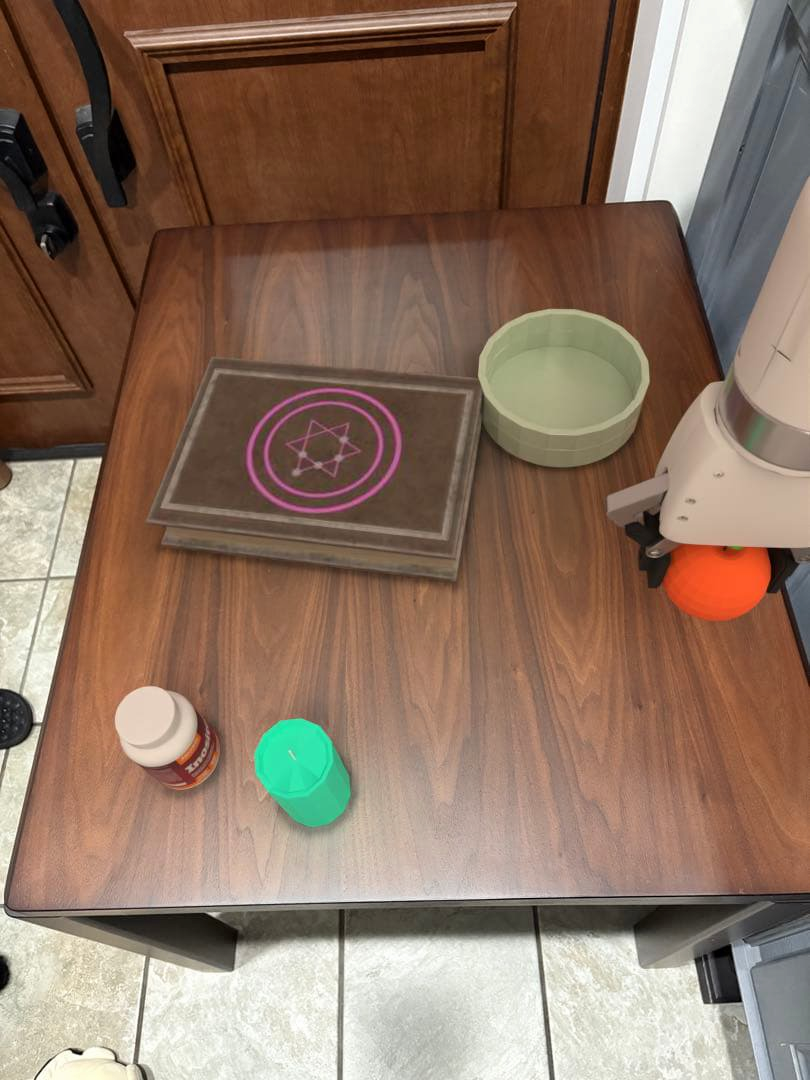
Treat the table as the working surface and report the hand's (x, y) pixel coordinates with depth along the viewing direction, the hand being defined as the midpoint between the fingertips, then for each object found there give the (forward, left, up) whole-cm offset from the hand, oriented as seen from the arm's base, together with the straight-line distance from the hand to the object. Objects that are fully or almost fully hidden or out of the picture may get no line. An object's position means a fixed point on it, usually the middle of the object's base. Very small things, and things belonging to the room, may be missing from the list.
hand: (708, 571), depth 54 cm
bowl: (+8, -31, -20) cm, 38 cm away
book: (+32, -20, -20) cm, 43 cm away
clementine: (0, 0, -3) cm, 3 cm away
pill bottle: (+40, +11, -20) cm, 46 cm away
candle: (+28, +13, -20) cm, 37 cm away
